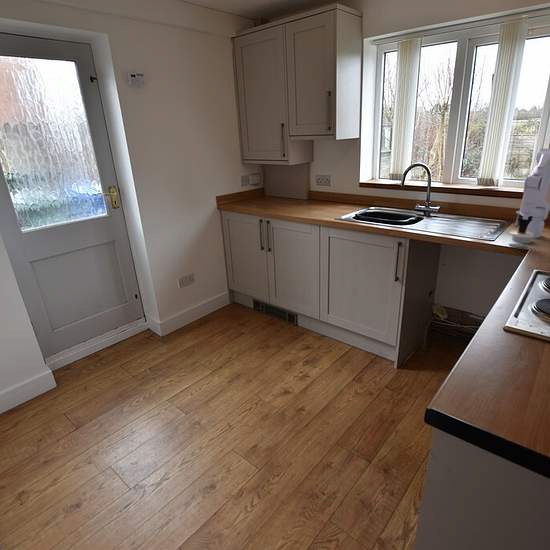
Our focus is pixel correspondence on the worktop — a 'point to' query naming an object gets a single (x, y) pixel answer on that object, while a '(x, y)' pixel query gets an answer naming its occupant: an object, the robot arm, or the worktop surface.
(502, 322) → the worktop surface
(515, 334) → the worktop surface
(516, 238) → the bowl
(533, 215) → the robot arm
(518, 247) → the mat
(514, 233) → the lid
